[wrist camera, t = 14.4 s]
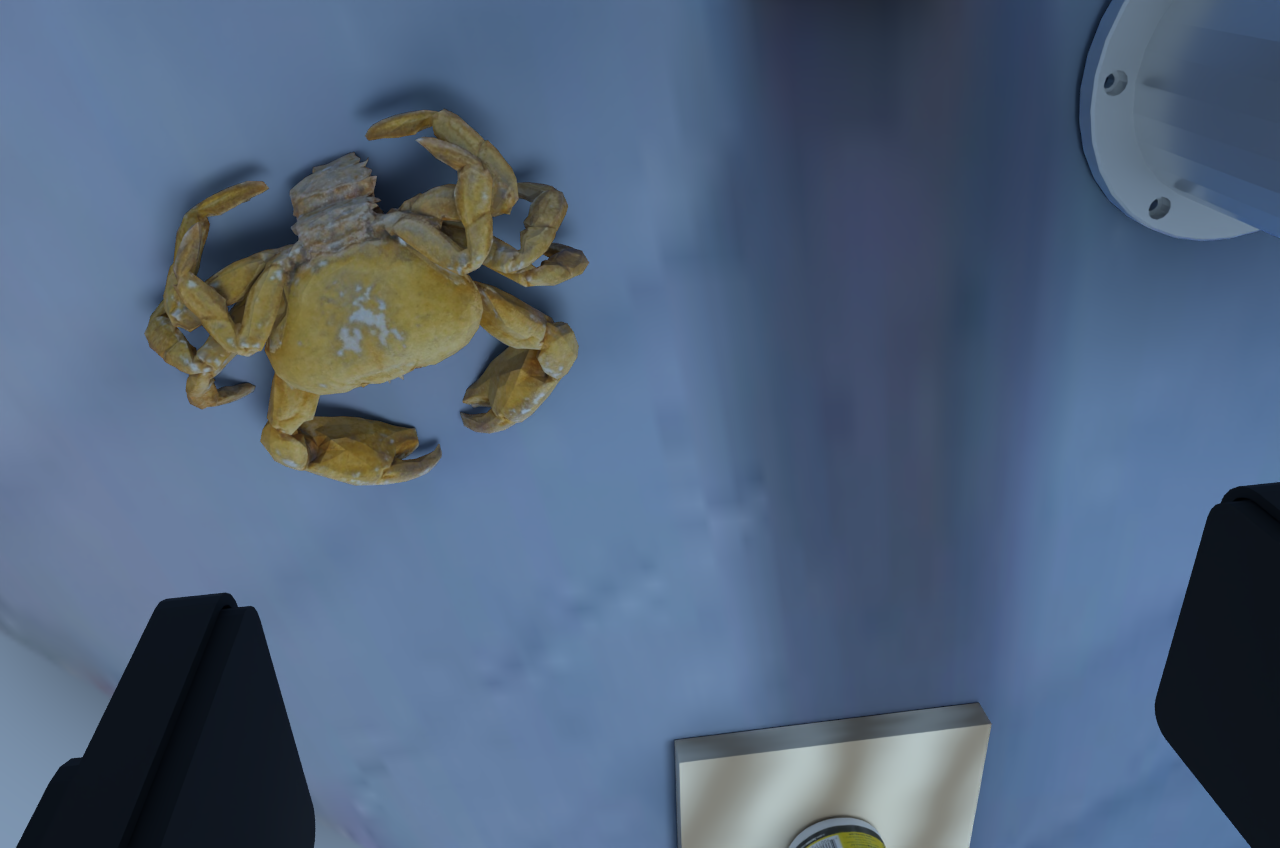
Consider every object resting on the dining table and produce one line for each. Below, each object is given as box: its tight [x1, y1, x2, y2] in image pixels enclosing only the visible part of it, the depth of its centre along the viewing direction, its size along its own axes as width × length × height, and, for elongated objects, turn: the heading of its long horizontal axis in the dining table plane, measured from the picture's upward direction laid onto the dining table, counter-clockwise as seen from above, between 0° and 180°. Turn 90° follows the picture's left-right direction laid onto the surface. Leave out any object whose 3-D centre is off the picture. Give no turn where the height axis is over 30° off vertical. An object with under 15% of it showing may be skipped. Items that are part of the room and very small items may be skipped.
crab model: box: [144, 109, 589, 485], centre depth 35 cm, size 16×13×6 cm
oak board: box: [675, 703, 991, 848], centre depth 53 cm, size 16×16×2 cm
